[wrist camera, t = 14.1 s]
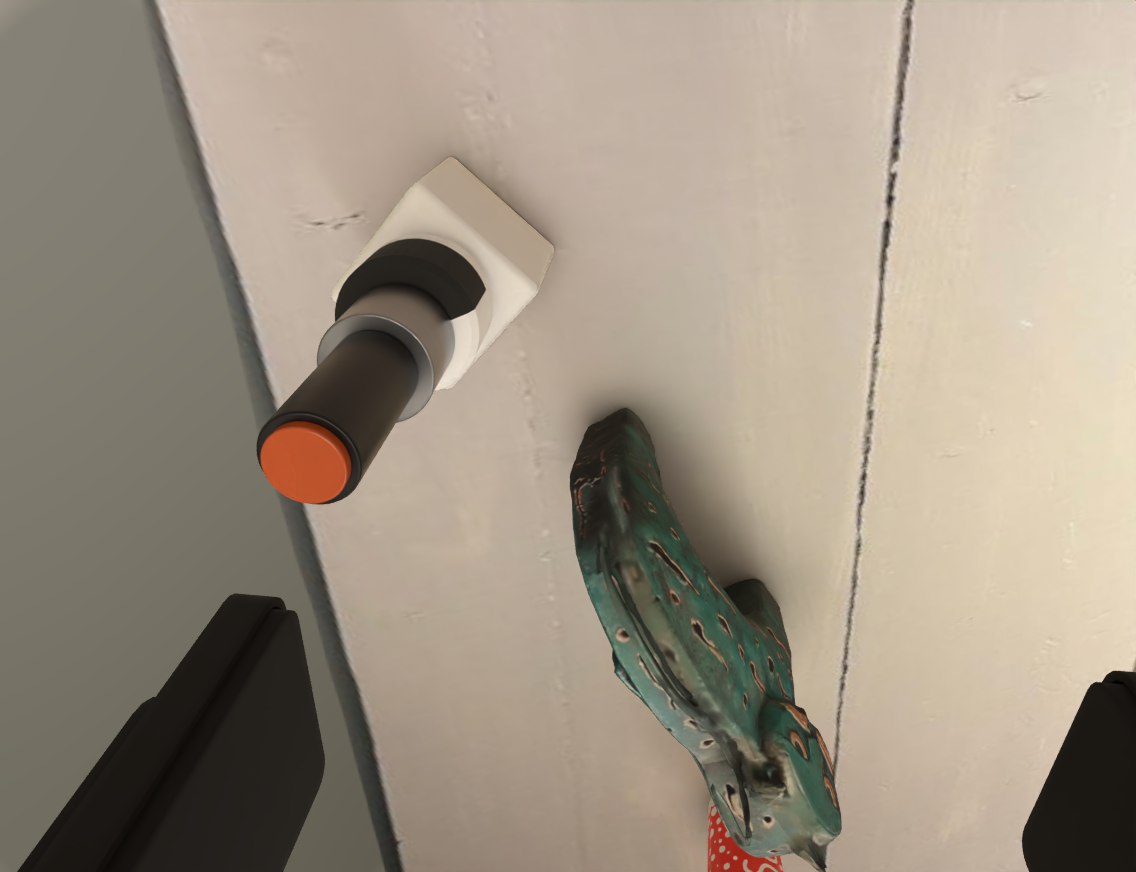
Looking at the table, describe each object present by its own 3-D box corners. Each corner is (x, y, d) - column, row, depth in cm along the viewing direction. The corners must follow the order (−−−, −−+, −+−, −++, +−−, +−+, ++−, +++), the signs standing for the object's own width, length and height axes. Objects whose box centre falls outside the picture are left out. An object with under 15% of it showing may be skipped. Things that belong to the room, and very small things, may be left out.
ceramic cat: (807, 618, 53) (883, 928, 35) (719, 655, 55) (748, 964, 37) (644, 380, 46) (636, 618, 28) (550, 433, 48) (490, 684, 30)
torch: (341, 281, 32) (215, 395, 23) (452, 285, 32) (368, 403, 22) (354, 382, 34) (243, 524, 25) (458, 388, 34) (384, 533, 25)
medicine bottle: (372, 255, 44) (282, 337, 33) (451, 152, 41) (379, 206, 30) (475, 340, 46) (420, 443, 35) (558, 247, 43) (525, 330, 32)
